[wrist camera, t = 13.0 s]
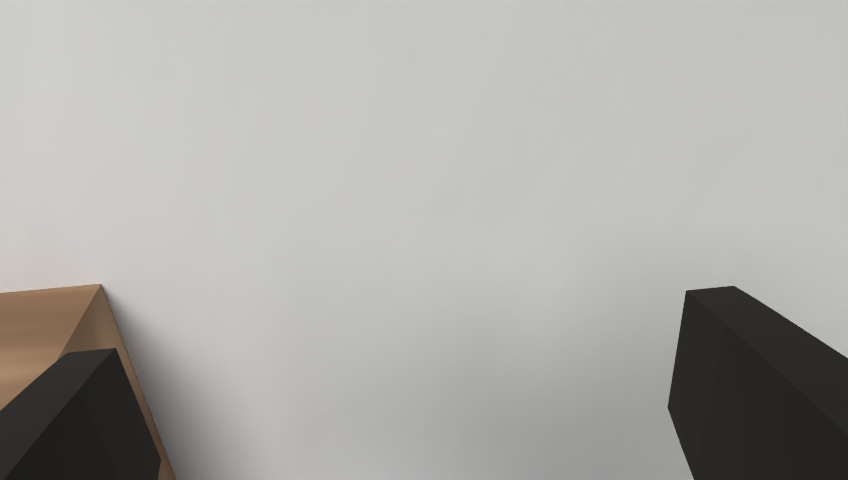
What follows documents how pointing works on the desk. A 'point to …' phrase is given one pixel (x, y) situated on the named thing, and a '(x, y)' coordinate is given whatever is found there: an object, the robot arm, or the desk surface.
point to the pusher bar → (61, 341)
